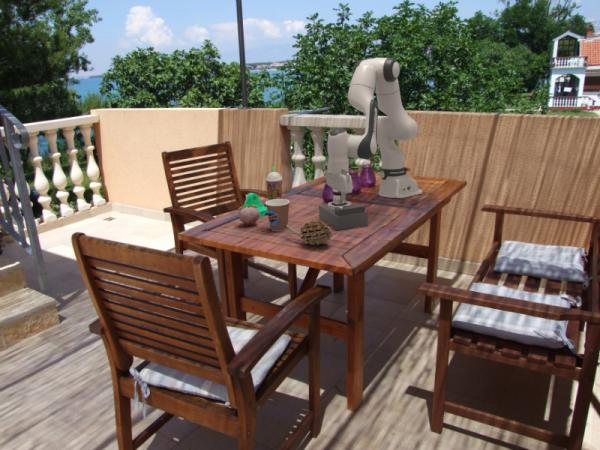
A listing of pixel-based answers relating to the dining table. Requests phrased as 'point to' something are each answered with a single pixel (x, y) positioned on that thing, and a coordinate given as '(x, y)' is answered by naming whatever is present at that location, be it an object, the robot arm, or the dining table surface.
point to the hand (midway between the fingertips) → (339, 199)
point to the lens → (337, 198)
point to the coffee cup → (278, 214)
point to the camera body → (344, 215)
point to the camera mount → (255, 203)
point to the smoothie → (274, 185)
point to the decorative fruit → (248, 214)
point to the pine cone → (314, 232)
